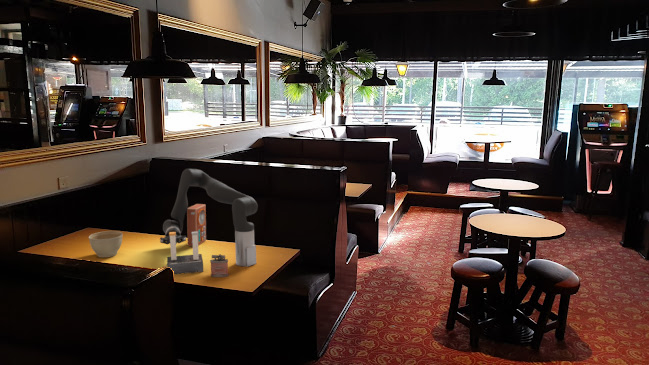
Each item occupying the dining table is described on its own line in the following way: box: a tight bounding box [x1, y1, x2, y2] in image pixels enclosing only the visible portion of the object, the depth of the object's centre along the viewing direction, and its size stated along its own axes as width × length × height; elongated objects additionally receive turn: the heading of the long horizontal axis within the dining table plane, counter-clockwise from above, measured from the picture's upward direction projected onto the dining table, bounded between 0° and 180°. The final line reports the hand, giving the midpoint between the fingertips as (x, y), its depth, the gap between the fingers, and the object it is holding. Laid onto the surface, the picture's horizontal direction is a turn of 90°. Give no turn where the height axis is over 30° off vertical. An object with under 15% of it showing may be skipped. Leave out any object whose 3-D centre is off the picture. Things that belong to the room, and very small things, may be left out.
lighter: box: [209, 254, 230, 278], centre depth 221 cm, size 8×3×10 cm, turn 92°
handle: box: [192, 231, 200, 260], centre depth 227 cm, size 3×3×13 cm
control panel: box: [186, 203, 207, 247], centre depth 271 cm, size 21×7×15 cm
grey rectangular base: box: [166, 253, 204, 275], centre depth 230 cm, size 12×16×5 cm
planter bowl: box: [88, 230, 123, 258], centre depth 251 cm, size 16×16×11 cm
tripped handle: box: [169, 232, 177, 260], centre depth 227 cm, size 3×3×13 cm
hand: (173, 243), depth 234 cm, fingers closed
